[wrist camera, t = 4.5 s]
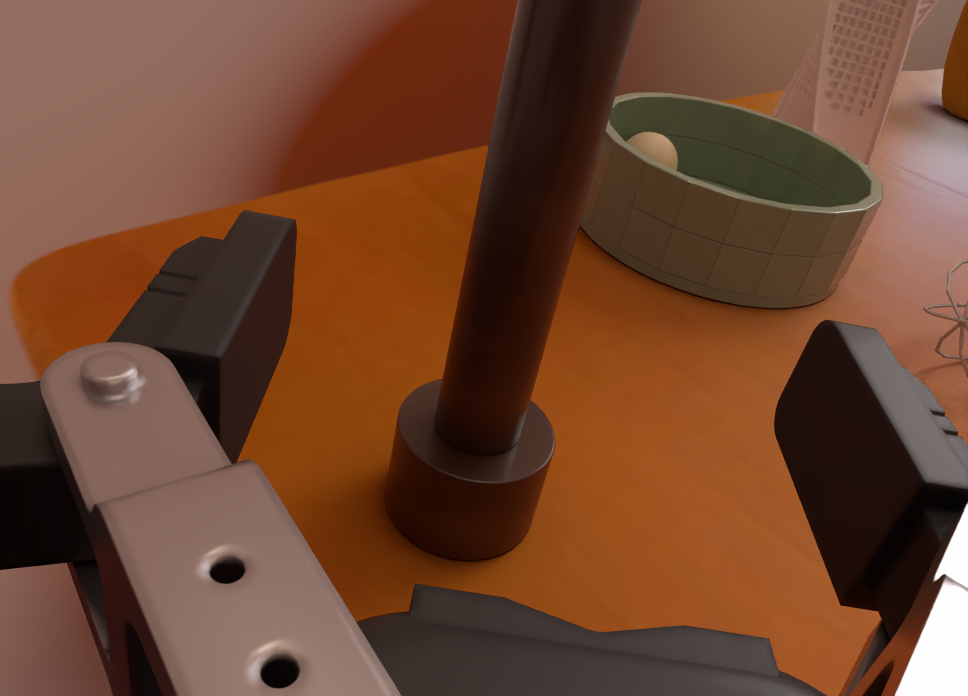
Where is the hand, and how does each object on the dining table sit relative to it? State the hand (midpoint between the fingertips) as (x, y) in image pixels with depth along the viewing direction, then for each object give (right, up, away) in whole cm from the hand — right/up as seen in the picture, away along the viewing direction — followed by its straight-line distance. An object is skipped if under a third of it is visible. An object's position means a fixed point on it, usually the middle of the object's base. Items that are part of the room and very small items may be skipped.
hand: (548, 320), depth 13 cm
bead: (+8, +10, +32) cm, 34 cm away
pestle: (-2, -5, +12) cm, 13 cm away
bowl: (+11, +6, +31) cm, 33 cm away
